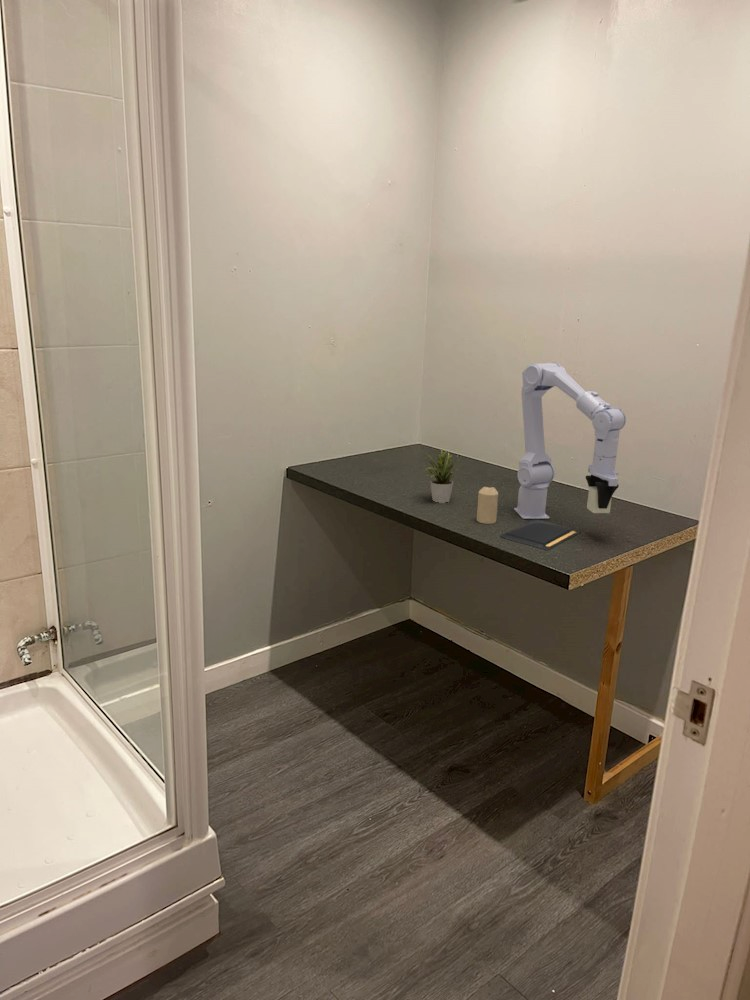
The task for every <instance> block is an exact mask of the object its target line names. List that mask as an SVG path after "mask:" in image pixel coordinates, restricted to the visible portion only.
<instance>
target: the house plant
mask: <svg viewBox="0 0 750 1000" xmlns="http://www.w3.org/2000/svg"><path fill="white" fill-rule="evenodd" d="M423 453H425V454H427V455H426V456H427V457H429V458H426V457H424V459H425V461H427V462H429V463H430V464H431V466H432V467H428V466H426V465H422V466H423V467H425V469H423V470H422V472H426V471H427V472H429V473H427V475H426V477H428V476H431V477H430V479H431V480H430V481H429V482H430V490H431V492H430V493H431V498H432V500H433V501H435V502H439V503H438V504H446V503H445V502H448V503H449V502H450V499H451V494H452V491H453V485H454V481H453V480H451V479H452V478H455V477H456V478H458V476H457V475H453V472H455V471H456V470H457V468H455V469H453V468H454V466H455V464H456V463H458V462H459V459H457V460H456V461H454V462H453V463H451V462H452V454H450V452H448V450H445V451H444V450H443V449H441V450H440V453H438V454H437V461H435V460H434V459H433V457H432V456H431V454H429V453H428V452H424V451H423ZM430 458H431V459H430ZM433 477H434V479H432V478H433ZM432 500H431V501H432ZM433 501H432V502H433ZM435 502H434V503H435Z"/></svg>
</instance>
